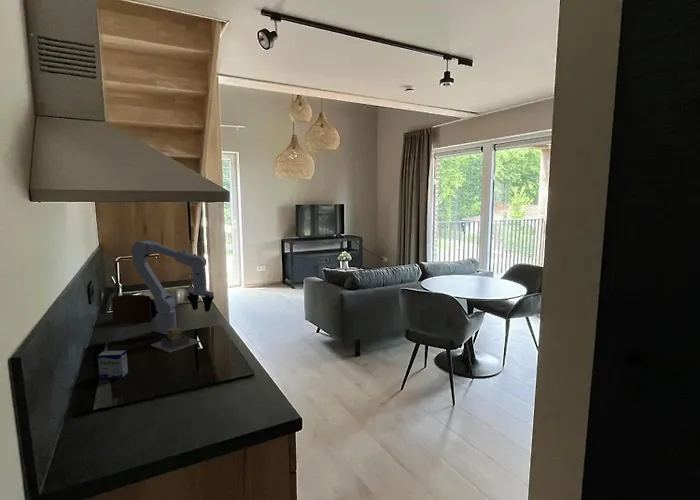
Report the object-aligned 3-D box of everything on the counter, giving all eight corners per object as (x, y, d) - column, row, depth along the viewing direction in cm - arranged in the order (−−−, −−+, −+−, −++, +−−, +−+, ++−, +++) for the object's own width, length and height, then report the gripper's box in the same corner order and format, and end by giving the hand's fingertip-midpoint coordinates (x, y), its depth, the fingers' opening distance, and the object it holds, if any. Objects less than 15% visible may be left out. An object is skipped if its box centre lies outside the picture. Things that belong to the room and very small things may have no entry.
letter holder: (151, 321, 203) (149, 294, 201) (112, 322, 202) (110, 295, 201) (160, 316, 213) (158, 290, 211) (123, 316, 212) (121, 291, 211)
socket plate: (150, 345, 168) (150, 339, 168) (181, 336, 179) (180, 330, 179) (169, 352, 160) (169, 346, 160) (200, 342, 171) (199, 336, 171)
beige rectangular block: (168, 343, 169) (167, 329, 168) (176, 340, 172) (175, 327, 171) (173, 345, 167) (172, 331, 166) (182, 342, 170) (181, 328, 169)
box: (98, 379, 136) (96, 355, 135) (105, 373, 141) (103, 350, 140) (122, 378, 137) (120, 354, 136) (128, 372, 142) (126, 349, 141)
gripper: (181, 282, 185) (183, 310, 187) (204, 285, 179) (206, 314, 180) (193, 279, 191) (194, 307, 193) (216, 282, 185) (217, 310, 187)
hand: (201, 310), depth 187 cm, fingers open, 7 cm apart
